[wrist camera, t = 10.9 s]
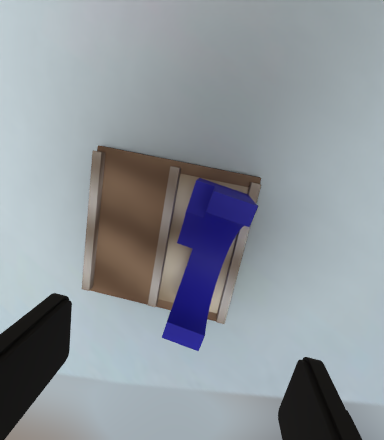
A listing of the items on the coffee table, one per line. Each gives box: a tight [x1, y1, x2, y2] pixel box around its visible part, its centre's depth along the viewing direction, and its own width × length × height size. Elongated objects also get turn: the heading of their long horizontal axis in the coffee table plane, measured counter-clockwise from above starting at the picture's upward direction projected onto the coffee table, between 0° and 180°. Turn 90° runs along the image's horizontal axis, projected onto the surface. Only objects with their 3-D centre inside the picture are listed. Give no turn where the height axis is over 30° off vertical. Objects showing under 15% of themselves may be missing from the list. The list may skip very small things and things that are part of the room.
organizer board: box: [82, 146, 261, 324], centre depth 23 cm, size 15×15×2 cm
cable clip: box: [162, 178, 258, 351], centre depth 20 cm, size 12×4×6 cm, turn 162°
